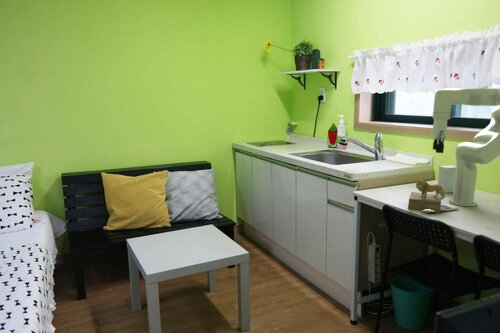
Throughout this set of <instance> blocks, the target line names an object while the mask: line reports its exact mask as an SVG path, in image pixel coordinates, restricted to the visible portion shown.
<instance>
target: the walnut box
mask: <svg viewBox="0 0 500 333" xmlns="http://www.w3.org/2000/svg"><path fill="white" fill-rule="evenodd" d="M421 195H422V192H415V191H411V192H410V195H409V198H408V206H407V210H410V211H415V212H423V211H422V210H424V209H431V210H434V211H435V213H434V214H439V215H440V214H441V206H442V199H441V197H442V196H441V195H440V194H438V196H437V197H433V196H435V195H436V194H433V193H427V194H426V198H423V197H424V196H423V197H421Z"/></svg>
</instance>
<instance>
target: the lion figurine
mask: <svg viewBox="0 0 500 333" xmlns="http://www.w3.org/2000/svg"><path fill="white" fill-rule="evenodd" d="M415 187H416V189H417V190H418V191H419V193H422V195H421V197H423V196H424V197H423V198H426V194H428V193H434V192H435V194H434V195H435V196H433V197H437V196H438V195H441V200H444V198H446V195H445V193H444V191H443V188H442V186H440V185H438V184H430V183H428V182H427V181H424V180H423V179H418V180H416V183H415ZM441 189H442V191H441Z"/></svg>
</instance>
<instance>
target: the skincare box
mask: <svg viewBox="0 0 500 333" xmlns="http://www.w3.org/2000/svg"><path fill="white" fill-rule="evenodd" d="M455 173H456V165H453V164H449V165H448V164H447V165H439V167H438V174H437V175H438V177H437V185H440V186H442V188H443V191H444V194H447V193H453V191H454V182H455ZM441 191H442V189H441Z"/></svg>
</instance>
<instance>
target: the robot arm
mask: <svg viewBox="0 0 500 333" xmlns="http://www.w3.org/2000/svg"><path fill="white" fill-rule="evenodd" d="M452 105H454V106H455V105H456V106H461V105H463V106H464V105H465V106H470V107H473V106H474V107H475V106H476V107H479V106H480V107H483V106H484V107H485V106H486V107H487V106H489V107H494V108H493V109H491V113H490V114H491V115H490V123H489V124H488V125H487V126H486V127H485V128H483V129H481V131H480V132H478V133H476V135H475V136H474V137H473V139H472V142H470V141H463V142H461V143H459V144H458V145H457V146H456V147H455V159H456V160H455V162H456V165H455V166H456V173H455V182H454V191H453V192H452V197H451V198H449V199H448V202H449V203H450V204H452V205H456V206H459V207H476V206H477V205H478V203H477V201H476V200H474V199H475V192H476V184H477V176H478V167H477V164H479V165H488V164H490V163H491V162H493V161H494V160H495V159H497V158H498V157H499V156H500V88H492V87H491V88H490V87H489V88H485V87H483V88H482V87H474V88H443V89H442V88H440V89H439V88H438V89H436V90H435V92H434V101H433V109H432V110H433V111H432V119H433V125H432V130H431V131H432V132H431V138H432V139H433V143H432V150H434V151H435V153H436V154H443V153H444V149H445V140H446V137H447V129H448V120H450V119H451V114H452V113H451V112H452Z"/></svg>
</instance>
